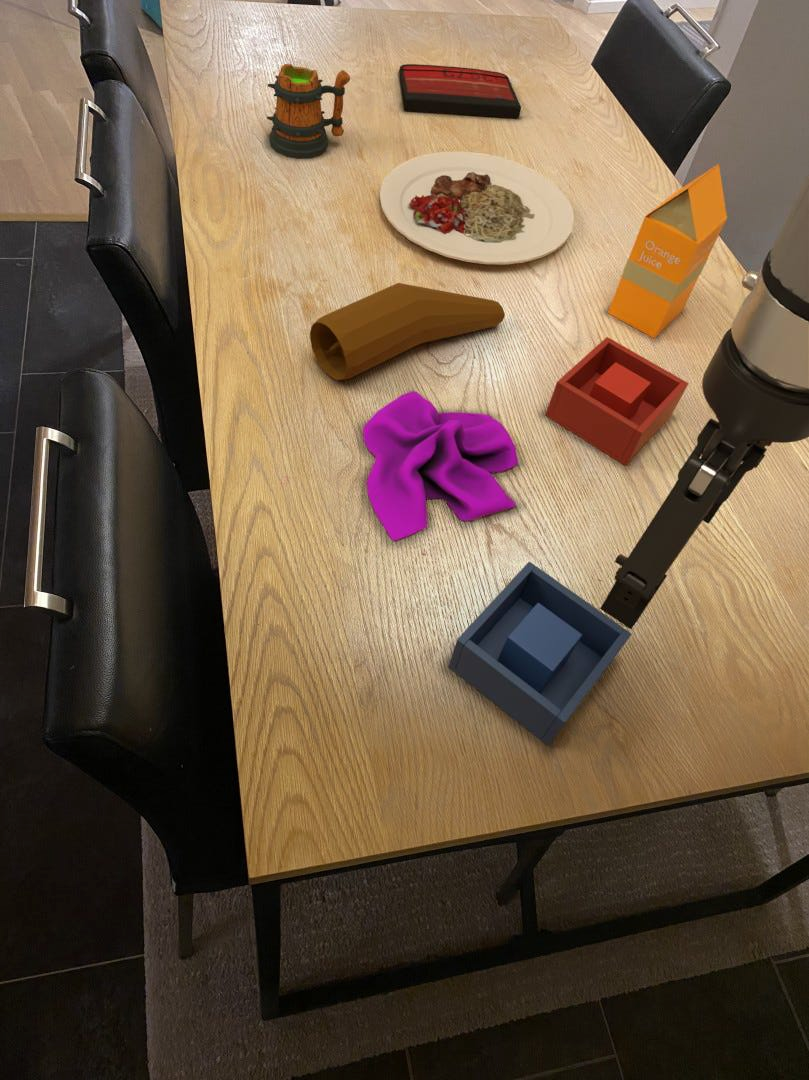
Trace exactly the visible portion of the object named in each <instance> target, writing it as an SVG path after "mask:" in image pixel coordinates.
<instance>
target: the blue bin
mask: <svg viewBox="0 0 809 1080" xmlns="http://www.w3.org/2000/svg"><path fill="white" fill-rule="evenodd" d="M537 603H540V604H541V605H542V606H544V607H545V608H546V609H548V610H549V611H551V612H552V613H553V614H555V615H556V616H557V617H559V618H560V619H562V620H563V621H564V622H566V623H567V624H568V625H570V626H571V627H573V628H574V629H575V630H577V631H578V632H579V633H581V634H582V637H581V638H580V640H579V642H578V643H577V645H576V647H575V648H574V650H573V652H572V653H571V655H570V656H569V658H568V660H567V661H566V662H565V663H564V665H563V666H562V667H561V668H560V670H559V671H558V672H557V673H556V675H555V676H554V677H553V678H552V680H551V681H550V682H549V683H548V685H547V686H546V687H545V688H544V690H543V691H542V692H541V693H538V692H537V691H536V690H535V689H533V688H532V687H531V686H529V685H528V684H527V683H525V682H524V681H523V680H522V679H520V678H519V677H518V676H516V675H515V674H514V673H512V672H511V671H510V670H508V669H507V668H506V667H505V666H503V665H502V664H501V663H499V662H498V661H497V660H498V658H499V655H500V653H501V651H502V649H503V646H504V644H505V642H506V640H507V637H508V636H509V635H510V634H511V632H512V631H513V630H514V629H515V628H516V627H517V626H518V624H519V623H520V622H521V621H522V620H523V619H524V618H525V617H526V615H527V614H528V613H529V612H530V611H531V610H532V609H533V608H534V606H535V605H536V604H537ZM632 634H633V633H632V632H630V631H629V630H628V629H626V628H625V627H623V626H622V625H621V624H620V623H618V622H616V621H614V620H613V618H610V617H609V615H606V614H605V613H604V612H603V611H600V610H599V609H598V608H596V607H595V606H593V605H592V604H591V603H590V602H588V601H586V600H585V599H584V598H582V597H581V596H579V595H578V594H577V593H575V592H573V591H572V590H570V589H569V588H568V587H566V586H565V585H564V584H562V583H561V582H560V581H558V580H557V579H555V578H554V577H552V576H551V575H550V574H548V573H547V572H545V571H544V570H543V569H541V568H539V566H536V565H535V564H534V563H532V562H531V561H528V562H526V564H525V565H524V566H523V567H522V568H521V570H520V571H519V572H518V573H517V574H516V575H515V576H514V577H513V578H512V579H511V581H510V582H508V584H507V585H506V586H504V588H503V589H502V590H501V591H500V592H499V593H498V594H497V596H496V597H494V599H493V600H492V601H491V602H490V603H489V604H488V606H487V607H485V609H483V610H482V612H481V613H480V614H479V615H478V616H477V617H476V619H474V620H473V621H472V623H471V624H470V625H469V626H468V627H467V628H466V629H465V630H464V631H463V632H462V633H461V634H460V636H459V637H458V638H457V639H456V642H455V645H454V648H453V650H452V654H451V657H450V660H449V663H448V666H447V667H448V668H449V669H450V670H451V671H452V672H453V673H455V674H456V675H457V676H458V677H460V678H461V679H463V680H464V681H465V682H466V683H467V684H468V685H470V686H471V687H473V688H474V689H475V690H476V691H477V692H479V693H480V694H481V695H482V696H484V697H485V698H487V699H488V700H489V701H490V702H492V703H493V704H494V705H495V706H496V707H498V708H499V709H500V710H502V712H504V713H505V714H507V715H508V716H509V717H511V718H512V719H513V720H514V721H516V723H518V724H519V725H521V726H522V727H523V728H524V729H526V731H528V732H529V733H530V734H532V735H533V736H534V737H536V738H537V739H538V740H540V741H541V742H542V743H543V744H544V745H546V746H547V747H549V746H550V745H551V744H552V743H553V741H554V740H555V738H556V737H557V736H558V734H559V733H560V732H561V731H562V729H563V728H564V726H565V725H566V724H567V723H568V721H569V720H570V719H571V717H572V716H573V714H574V713H575V712H576V710H577V709H578V708H579V706H581V704H582V702H583V701H584V700H585V698H586V697H587V696H588V694H589V693H590V692H591V690H592V689H593V688H594V687H595V685H596V684H597V682H599V680H600V678H601V677H602V676H603V674H604V673H605V672H606V670H607V669H608V668H609V666H610V665H611V664H612V662H613V661H614V660H615V658H616V657H617V656H618V654H619V653H620V652H621V650H622V649H623V647H624V646H625V644H626V643H627V642H628V640H629V639H630V638H631V636H632Z"/></svg>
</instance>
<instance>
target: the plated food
mask: <svg viewBox="0 0 809 1080" xmlns="http://www.w3.org/2000/svg"><path fill="white" fill-rule="evenodd" d="M380 185H381V186H380V192H379V201H380V206H381V210H382V211H383V214H384V215H385V217H386V219H387V221H388V222H389V223H390V224H391V225H392V227H394V228H395V230H397V232H399V233H400V234H401V235H403V236H404V237H405V238H407V239H408V240H409V241H411V242H412V243H414V244H416V245H418V246H420V247H422V248H424V249H425V250H428V251H431V252H432V253H433V252H434V253H436V254H438V255H441V256H443V257H446V258H449V259H454V260H458V261H462V262H466V263H473V264H481V265H482V264H483V265H513V264H514V265H515V264H521V263H526V262H531V261H534V260H538V259H542V258H544V257H546V256H547V255H550V254H552V253H554V252H555V251H557V250H559V248H561V247H562V246H563V245H565V243H566V242H567V240H568V239H569V238H570V236H571V235H572V232H573V229H574V224H575V213H574V209H573V205H572V204H571V201H570V199H569V198H568V197H567V195H566V194H565V193H564V191H562V189H561V188H560V187H559V186H558V185H557V184H555V183H554V182H553V181H552V180H551V179H549V178H548V177H546V176H545V175H543V174H542V173H540V172H538V171H537V170H535V169H533V168H530V167H528V166H526V165H525V164H522V163H519V162H516V161H515V160H511V159H508V158H505V157H502V156H497V155H493V154H488V153H482V152H474V151H459V150H458V151H456V150H452V151H437V152H431V153H426V154H422V155H418V156H415V157H412V158H410V159H407V160H405V161H403V162H401V163H400V164H398V165H396V166H394V167H393V168H392V169H391V171H390V172H389V173H388V174H386V176H385V177H384V179H383V181H382V183H381V184H380Z"/></svg>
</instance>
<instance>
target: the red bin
mask: <svg viewBox="0 0 809 1080" xmlns="http://www.w3.org/2000/svg"><path fill="white" fill-rule="evenodd" d="M615 362H616V363H618V364H620V365H621V366H623V367H625V368H627V369H628V370H630V371H632V372H633V373H635V374H637V375H639V376H640V377H642V378H644V379H646V380H647V381H649V382H651V384H650V386H649V388H648V390H647V392H646V394H645V397H644V399H643V401H642V403H641V405H640V407H639V409H638V411H637V413H636V414H635V415H634V416H633V417H632V418H631V419H630V420H628V419H627V418H625V417H623V416H622V415H620V414H618V413H617V412H615V411H613V410H612V409H610V408H609V407H607V406H605V405H604V404H602V403H600V402H599V401H597V400H595V399H594V398H592V397H590V396H589V395H590V392H591V390H592V387H593V385H594V382H595V381H596V380H597V379H598V378H599V377H601V376H602V375H603V374H604V373H605V372H606V371H607V370H608V369H609V368H610V367H611V366H612V365H613V364H614V363H615ZM688 386H689V382H687V381H685V380H683V378H681V377H679V376H677V375H675V374H674V373H671V372H670V371H668V370H666V369H665V368H663V367H661V366H659V365H658V364H655V363H654V362H652V361H651V360H649V359H647V358H645V357H643V356H641V355H640V354H638V353H637V352H634V351H633V350H631V349H630V348H628V347H625V346H624V345H622V344H621V343H619V342H617V341H616V340H614V339H612V338H611V337H608V336H606V337H605V338H604V339H603V340H602V341H601V342H599V343H598V344H597V345H596V346H595V347H593V349H592V350H590V351H589V352H588V353H587V354H586V355H585V356H583V358H581V360H579V361H578V362H577V363H576V364H574V366H573V367H571V368H570V369H569V370H568V371H567V372H566V373H565V374H563V375H562V376H561V378H559V379H558V380H557V381H556V383H555V386H554V390H553V392H552V395H551V398H550V400H549V403H548V407H547V409H546V412H545V415H544V416H545V417H546V418H549V419H550V420H552V421H553V422H555V423H556V424H558V425H559V426H561V427H563V428H564V429H566V430H568V431H569V432H571V433H572V434H574V435H575V436H577V437H579V438H580V439H582V440H583V441H585V442H586V443H588V444H590V445H592V446H593V447H595V448H597V449H598V450H599V451H601V452H602V453H604V454H606V455H607V456H609V457H610V458H612V459H614V460H616V461H617V462H619V463H621V465H623V466H627V465H628V464H629V463H630V462H631V461H632V460H633V459H634V458H635V456H637V455H638V453H639V452H640V451H641V450H642V449H643V448H644V447H645V446H646V445H647V443H648V442H649V441H650V440H651V439H652V438H653V437H654V436H655V435H656V434H657V432H658V431H659V430H660V429H661V428H662V427H663V426H664V425H665V423H667V421H668V420H670V418H671V417H672V415H673V414H674V412H675V410H676V409H677V406H678V404H679V402H680V401H681V399H682V397H683V395H684V393H685V391H686V390H687V387H688Z"/></svg>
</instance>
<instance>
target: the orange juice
mask: <svg viewBox="0 0 809 1080" xmlns="http://www.w3.org/2000/svg"><path fill="white" fill-rule="evenodd" d="M726 209H727V208H726V203H725V195H724V189H723V183H722V177H721V169H720V163H717V164H716V165H714V166H713V167H711V168H710V169H708V170H707V171H705V172H704V173H702V174H701V175H699V176H697V177H696V178H695V179H693V180H692V181H689V182H688V183H686V184H685V185H684V186H683V187H681V188H680V189H678V190H677V191H675V192H673V193H672V194H671V195H670V196H668V197H667V198H666V199H665V200H664V201H662V202H660V204H659V205H657V206H656V207H654V209H652V210H651V211H650V212H648V213H647V214H646V215H645V216H644V217H643V220H642V223H641V226H640V228H639V230H638V233H637V236H636V239H635V241H634V244H633V246H632V249H631V251H630V253H629V254H630V255H629V256H628V259H627V261H626V263H625V265H624V269H623V271H622V274H621V278H620V280H619V283H618V285H617V288H616V290H615V292H614V296H613V297H612V301H611V303H610V306H609V308H608V311H607V314H609V315H611V316H612V317H614V318H616V319H618V320H620V321H622V322H623V323H625V324H627V325H629V326H630V327H632V328H634V329H635V330H638V331H640V332H641V333H643V334H645V335H646V336H649V337H651V338H652V339H655V338H656V337H657V336H659V335H660V333H661V332H662V331H663V330H664V329H665V328H667V326H668V325H669V324H670V323H672V321H673V320H675V318H677V317H678V315H680V314H681V312H683V310H684V308H685V306H686V304H687V303H688V300H689V297H690V296H691V294H692V291H693V290H694V287H695V285H696V283H697V282H698V279H699V277H700V276H701V273H702V272H703V270H704V268H705V265H706V263H707V261H708V259H709V257H710V254H711V252H712V250H713V248H714V246H715V244H716V242H717V239H718V238H719V235H720V234H721V231H722V230H723V227H724V225H725V223H726V221H727V220H728V216H727V210H726Z"/></svg>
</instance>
